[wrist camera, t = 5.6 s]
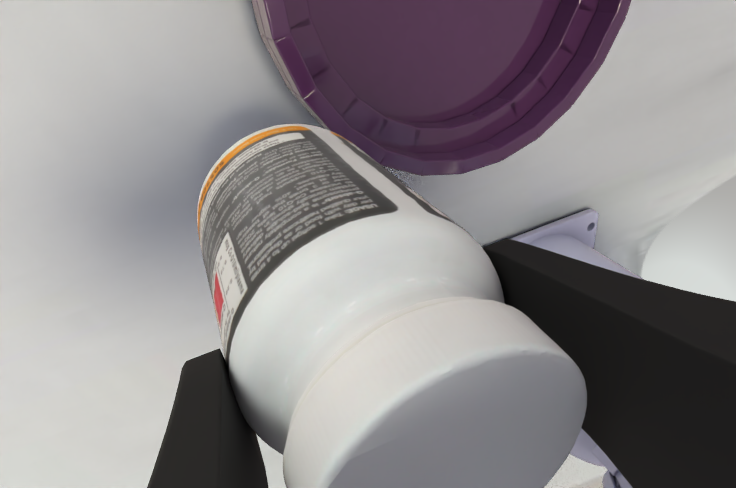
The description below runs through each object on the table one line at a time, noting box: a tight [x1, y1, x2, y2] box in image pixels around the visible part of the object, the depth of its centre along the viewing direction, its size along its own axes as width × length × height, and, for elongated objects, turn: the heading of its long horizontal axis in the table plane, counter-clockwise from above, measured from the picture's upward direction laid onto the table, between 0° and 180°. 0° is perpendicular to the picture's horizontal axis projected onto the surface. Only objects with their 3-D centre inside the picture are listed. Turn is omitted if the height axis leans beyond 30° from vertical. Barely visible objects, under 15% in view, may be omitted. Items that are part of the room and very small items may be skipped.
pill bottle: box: [197, 124, 587, 488], centre depth 11 cm, size 6×6×10 cm
